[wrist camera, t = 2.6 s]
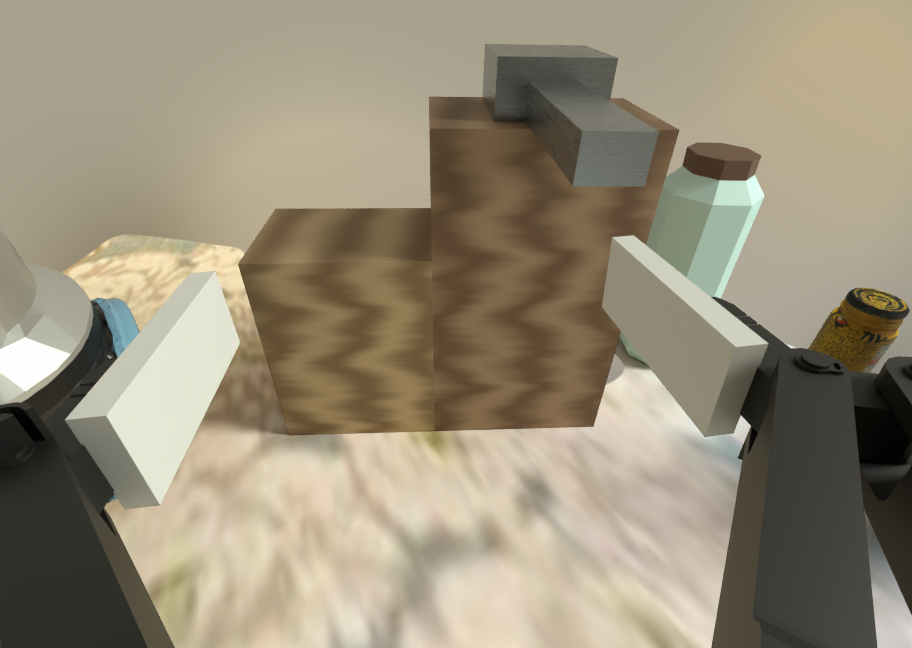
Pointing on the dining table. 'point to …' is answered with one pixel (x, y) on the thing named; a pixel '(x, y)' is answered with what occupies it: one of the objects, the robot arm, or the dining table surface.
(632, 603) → the dining table surface
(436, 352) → the stepped stand
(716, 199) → the water bottle
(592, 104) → the grey t-shaped block
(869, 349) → the condiment
